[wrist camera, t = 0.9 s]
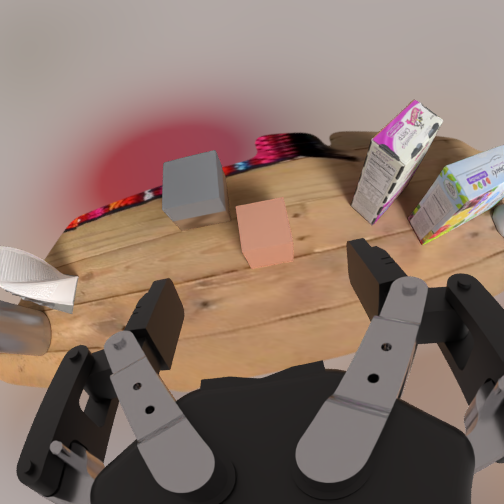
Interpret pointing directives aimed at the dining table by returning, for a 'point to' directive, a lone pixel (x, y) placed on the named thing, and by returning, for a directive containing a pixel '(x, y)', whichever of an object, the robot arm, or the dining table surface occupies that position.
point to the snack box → (460, 194)
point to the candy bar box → (394, 159)
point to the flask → (499, 218)
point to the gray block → (193, 186)
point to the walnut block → (208, 218)
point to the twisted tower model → (36, 280)
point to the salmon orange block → (265, 233)
